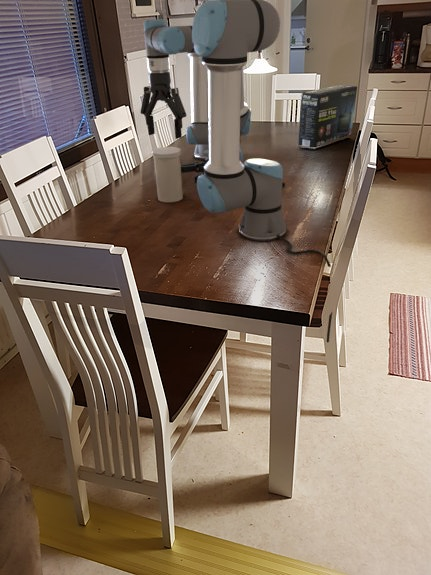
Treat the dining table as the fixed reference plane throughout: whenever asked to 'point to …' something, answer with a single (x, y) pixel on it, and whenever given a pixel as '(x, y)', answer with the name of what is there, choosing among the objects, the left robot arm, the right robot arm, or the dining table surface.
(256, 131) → the dining table surface
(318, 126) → the router box
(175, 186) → the jar
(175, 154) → the lid
